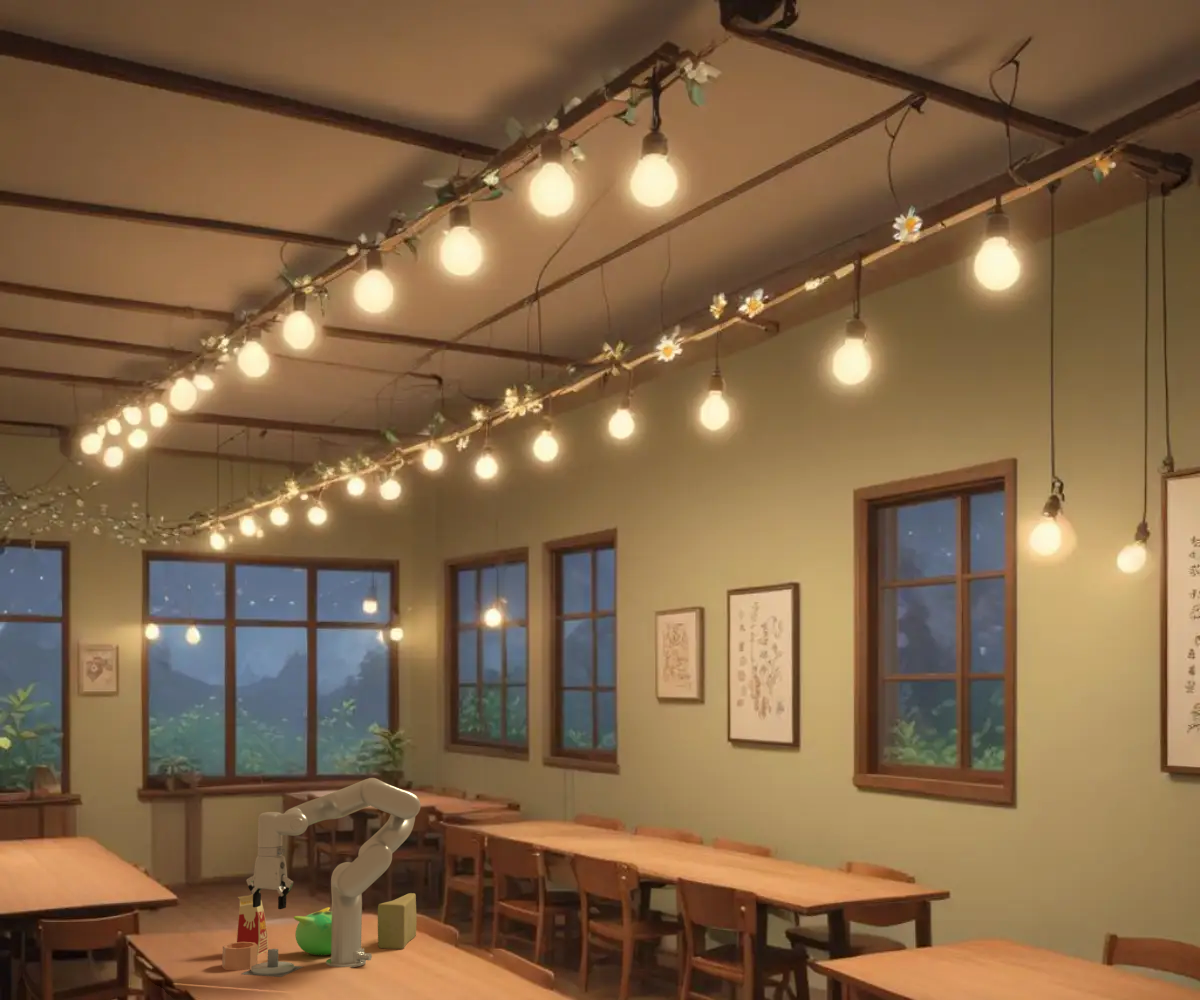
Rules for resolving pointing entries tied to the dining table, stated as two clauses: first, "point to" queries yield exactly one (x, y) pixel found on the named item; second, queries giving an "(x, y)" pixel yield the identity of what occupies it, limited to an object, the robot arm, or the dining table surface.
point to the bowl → (239, 955)
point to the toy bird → (315, 932)
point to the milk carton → (252, 924)
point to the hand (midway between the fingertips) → (269, 907)
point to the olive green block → (397, 922)
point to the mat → (273, 975)
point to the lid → (272, 965)
